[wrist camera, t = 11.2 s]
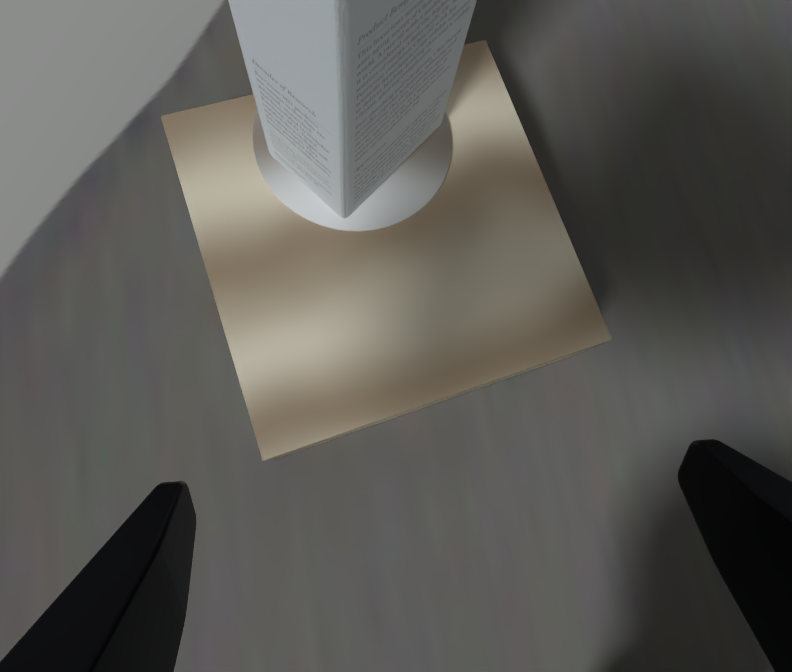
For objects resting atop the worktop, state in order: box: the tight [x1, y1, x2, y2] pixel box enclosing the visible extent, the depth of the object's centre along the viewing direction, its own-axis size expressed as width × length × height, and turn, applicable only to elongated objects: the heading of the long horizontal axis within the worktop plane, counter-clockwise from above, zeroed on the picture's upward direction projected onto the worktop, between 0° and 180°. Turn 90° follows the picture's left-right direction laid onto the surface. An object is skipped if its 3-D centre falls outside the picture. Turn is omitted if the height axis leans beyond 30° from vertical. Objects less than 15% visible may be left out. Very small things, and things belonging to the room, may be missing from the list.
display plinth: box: [161, 40, 612, 461], centre depth 23 cm, size 15×14×4 cm
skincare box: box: [228, 0, 477, 219], centre depth 16 cm, size 6×4×12 cm
